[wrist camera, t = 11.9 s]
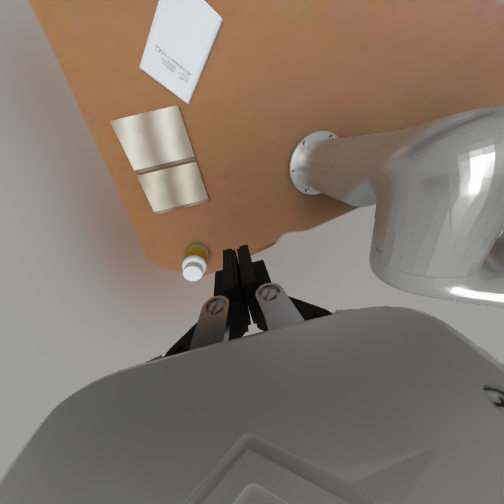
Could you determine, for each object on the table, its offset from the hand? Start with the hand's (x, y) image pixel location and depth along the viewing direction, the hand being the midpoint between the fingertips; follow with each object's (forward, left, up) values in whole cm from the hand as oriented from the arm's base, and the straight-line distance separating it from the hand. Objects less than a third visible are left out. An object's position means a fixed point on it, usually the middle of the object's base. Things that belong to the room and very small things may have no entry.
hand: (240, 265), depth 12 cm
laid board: (+11, -11, -32) cm, 36 cm away
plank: (+11, -2, -32) cm, 34 cm away
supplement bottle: (+12, +14, -32) cm, 37 cm away
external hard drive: (+2, -22, -33) cm, 40 cm away
